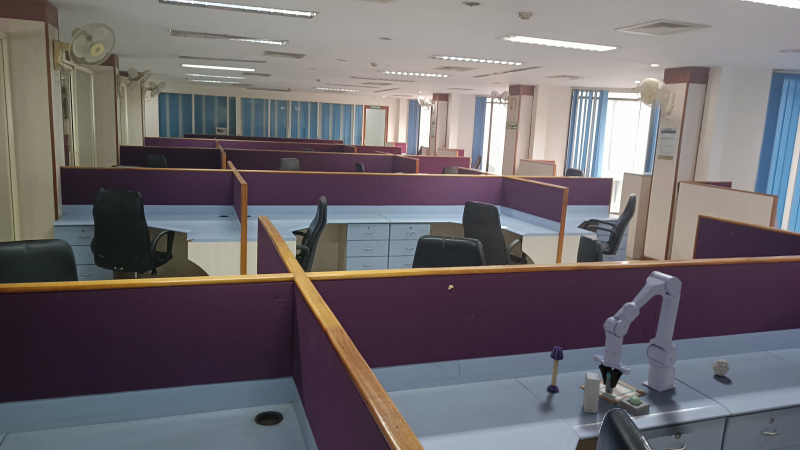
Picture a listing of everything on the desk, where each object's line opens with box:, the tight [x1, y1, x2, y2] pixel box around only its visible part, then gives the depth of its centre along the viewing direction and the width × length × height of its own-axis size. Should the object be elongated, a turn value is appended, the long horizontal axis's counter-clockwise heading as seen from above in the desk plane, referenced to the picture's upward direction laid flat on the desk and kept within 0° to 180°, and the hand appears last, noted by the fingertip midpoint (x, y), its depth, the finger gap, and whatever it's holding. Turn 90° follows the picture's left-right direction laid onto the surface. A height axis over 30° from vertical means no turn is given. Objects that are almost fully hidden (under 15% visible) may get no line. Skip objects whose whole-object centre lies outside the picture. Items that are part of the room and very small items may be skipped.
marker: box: [605, 371, 613, 393], centre depth 208 cm, size 3×3×7 cm
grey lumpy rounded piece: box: [711, 358, 730, 377], centre depth 227 cm, size 6×7×7 cm
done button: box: [629, 396, 641, 406], centre depth 197 cm, size 3×3×3 cm
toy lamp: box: [546, 345, 564, 394], centre depth 208 cm, size 5×5×17 cm
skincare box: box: [582, 371, 601, 414], centre depth 196 cm, size 6×4×12 cm
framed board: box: [579, 379, 647, 405], centre depth 211 cm, size 18×15×1 cm
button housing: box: [618, 397, 651, 416], centre depth 197 cm, size 7×7×2 cm
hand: (609, 385), depth 208 cm, fingers closed on marker, 3 cm apart
